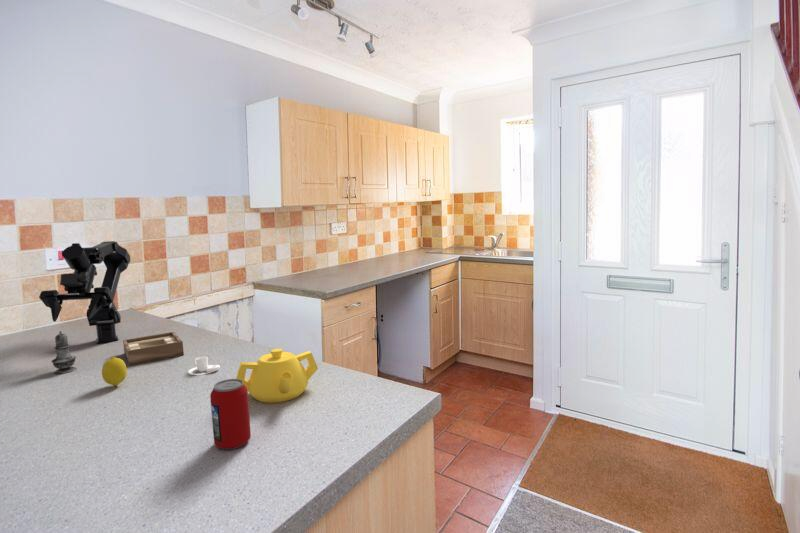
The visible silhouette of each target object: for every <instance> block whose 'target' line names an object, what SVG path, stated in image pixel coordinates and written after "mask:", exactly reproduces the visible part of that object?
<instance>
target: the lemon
mask: <svg viewBox="0 0 800 533" xmlns="http://www.w3.org/2000/svg"><path fill="white" fill-rule="evenodd" d="M127 373H128V369H127V365H126V362H125V361H124V360H123V359H121V358H118V357H116V356H112V357H111V358H109V359H106V361H104V363H103V365H102V369H101V377H102V379H103V381H104V383H106V384H108V385H110V386H114V387H118V386H119V384H121V383H123V381H124V380H126V378H127Z"/></svg>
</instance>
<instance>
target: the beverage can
mask: <svg viewBox="0 0 800 533" xmlns="http://www.w3.org/2000/svg"><path fill="white" fill-rule="evenodd" d="M248 393H249V392H248V391H247V388H246V386H245V385H244V384H243V381H242V380H240V379H236V378H230V379H229V378H228V379H224V380H223V379H222V380H221V381H218V382H217V383H215V384H213V388H212V390H211V392H210V395H209V397H210V410H211V412H210V413H211V422H212V423H211V424H212V433H213V442H214V445H215V446H216V447H217V448H220V449H222V450H234V449H238V448H240V447H242V446H243V445H245V444H246V443H248V441H249V440H250V439H251V436H252V434H251V419H250V405H249V404H250V403H249V394H248Z"/></svg>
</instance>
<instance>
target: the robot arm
mask: <svg viewBox="0 0 800 533" xmlns="http://www.w3.org/2000/svg"><path fill="white" fill-rule="evenodd" d="M61 256H62V258H63V259H64V261H65V262H66V263H67V265H68V267H69V268H70V269H72V270H73V273H61V274H60V283H59V285H60V286H63V287H64V288H63V289H64V291H65V292H67V293H60V292H58V290H57V289H48V290H47V289H46V290H41V292H40V294H39V295H38V298H39V299H40V301H42V303H43V304H44V306H46V307H47V308H49V309H50V313H51V318H52V321H53V322H56V321H57V320H58V318H59V316H60V314H61V311H62V308H63V306H62V305H63V302H64V301H72V300H74V301H75V300H76V301H81V300H90V301H89V305H88V306H87V307H88V309H87V310H86V318H87V322H88V325H89V326H90V327H92V326H95V328H96V329H95V330H96V336H97V337H96V338H95V341H96V344H102V343H103V344H104V343H108V342H114V341H119V337H118V335H117V331H116V325H117V324H120V323H121V322H122V321H121V320H122V318H121V317H122V316H121V314H120V312H119V311H118V309H117V306H116V305H115V302H114V300H115V296H116V292H117V288H118V284H119V280H120V277H121V274H122V273H123V272H124V271H125V270H127V269H128V268H129V267H128V266H129V264H130V263H131V254H129V251H128V249H126V248H125V247H122V246H121V245H119V243H118V242H117V241H115V240H113V241H112V240H111V241H108V240H107V241H102V242H100V243H99V244H96V245H94V246H91V247H83V246H82V245H81V244H80V243H79V242H77V243H76V242H75V243H71V245H70V246H68V247H65V249H64V250H62V252H61ZM102 262H103V264H104V266H105V268H106V270H105V274H104V276H103V280H102V283H101V287H100V286H99V287H95V286H94V283H93V282H94V280H95V276H98V271H97V267H96V265H99V264H100V265H101V264H102ZM92 289H93V292H91V290H92Z"/></svg>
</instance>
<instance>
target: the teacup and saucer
mask: <svg viewBox="0 0 800 533" xmlns="http://www.w3.org/2000/svg"><path fill="white" fill-rule="evenodd" d="M194 364H195V367H192V368H191V369H189V370H188V371H187V374H188V375H191V376H203V375H207V374H211V373H214V372H216V371H218V370H219V369H220V368H221V366H220V365H219V364H209V357H208V356H207V355H203V356H198V357H196V358H194ZM195 370H197V372H200V373H194V371H195ZM205 371H206V372H205ZM201 372H202V373H201Z"/></svg>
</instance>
